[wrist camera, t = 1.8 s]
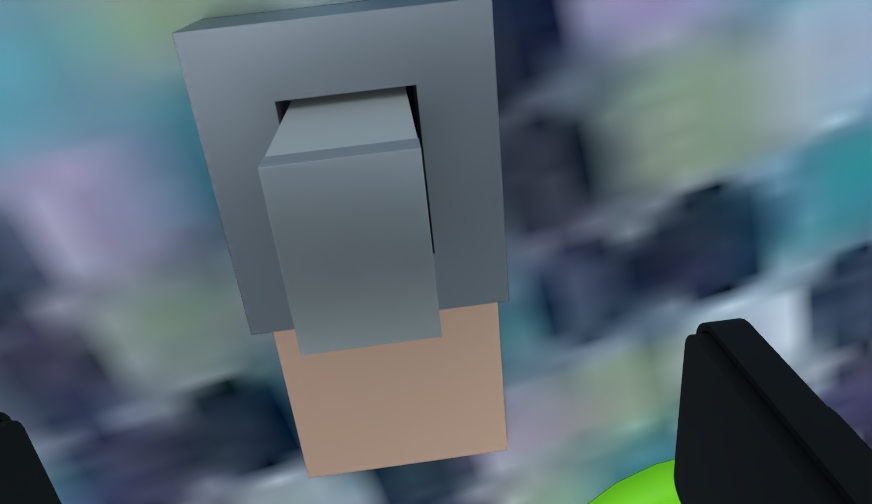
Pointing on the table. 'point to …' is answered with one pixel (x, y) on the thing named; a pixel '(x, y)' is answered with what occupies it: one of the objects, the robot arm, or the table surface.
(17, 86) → the table surface
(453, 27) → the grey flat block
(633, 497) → the wineglass
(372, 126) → the plug
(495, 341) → the mat
